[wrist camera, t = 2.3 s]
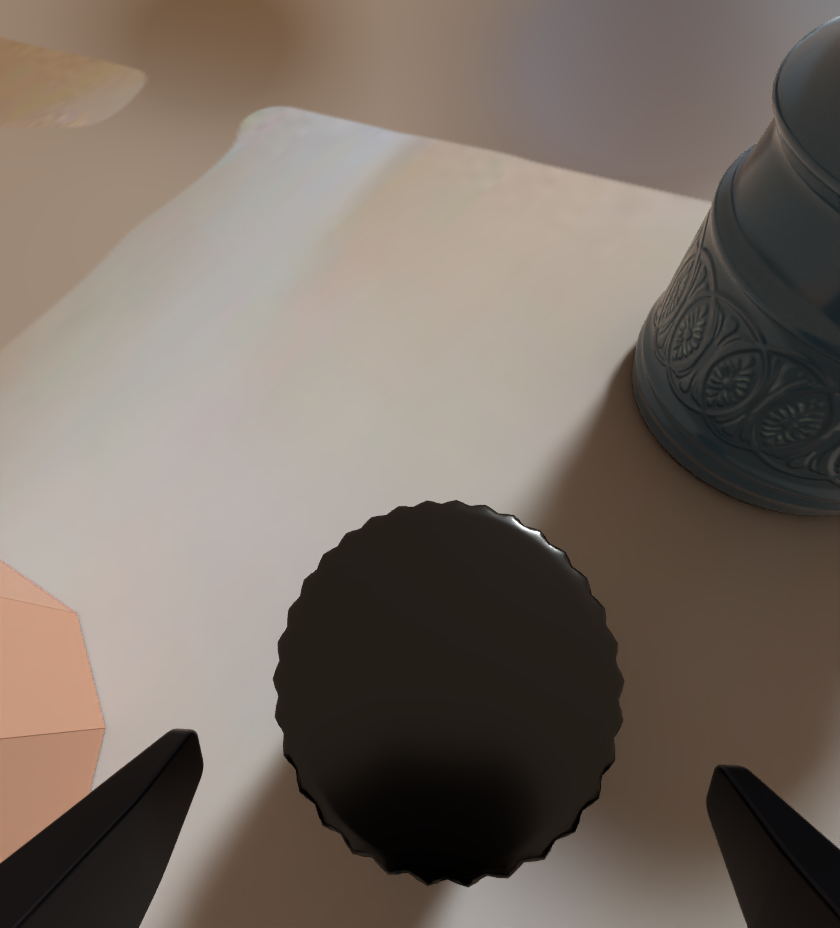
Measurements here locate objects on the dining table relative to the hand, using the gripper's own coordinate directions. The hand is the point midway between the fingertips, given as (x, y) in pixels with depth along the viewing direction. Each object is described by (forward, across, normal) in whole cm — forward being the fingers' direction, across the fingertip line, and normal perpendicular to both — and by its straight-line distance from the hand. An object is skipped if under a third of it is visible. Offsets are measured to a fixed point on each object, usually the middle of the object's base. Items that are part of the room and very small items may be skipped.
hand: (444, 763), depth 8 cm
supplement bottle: (+8, 0, +6) cm, 10 cm away
